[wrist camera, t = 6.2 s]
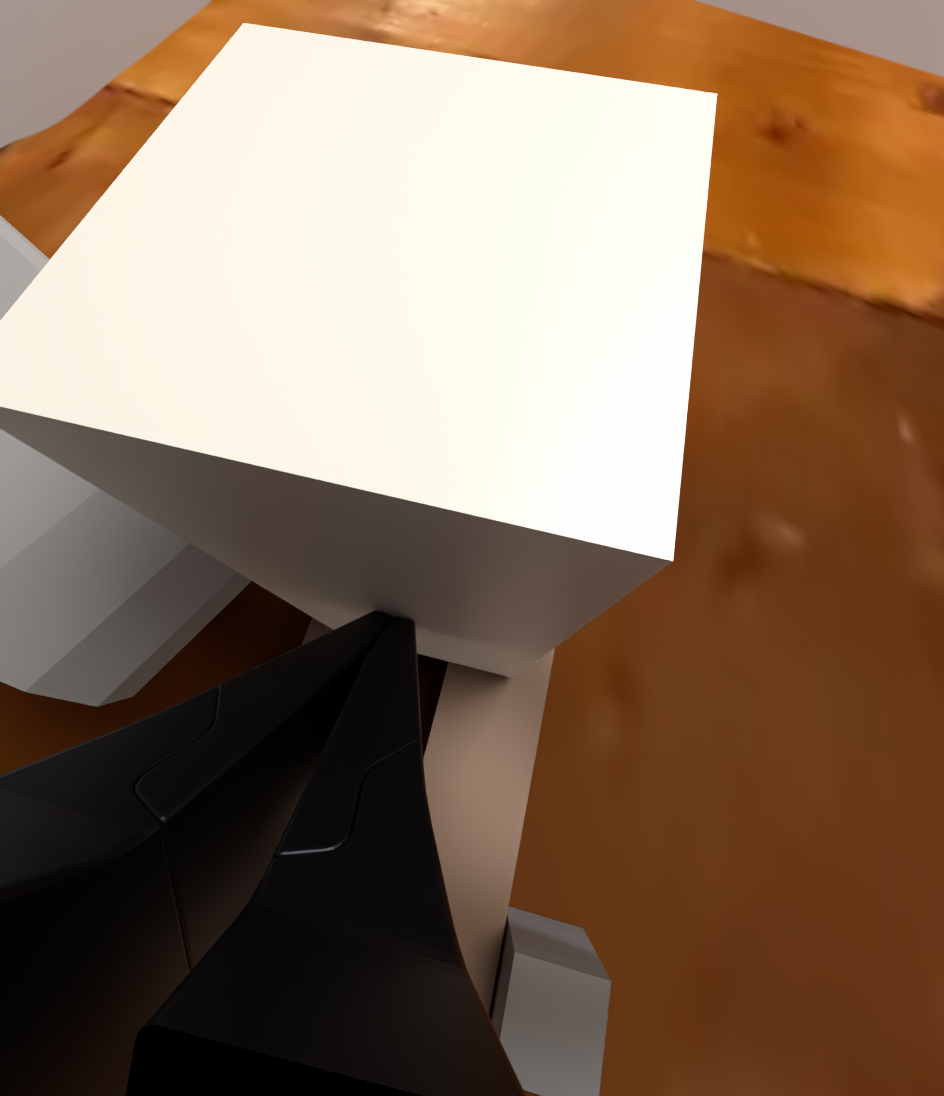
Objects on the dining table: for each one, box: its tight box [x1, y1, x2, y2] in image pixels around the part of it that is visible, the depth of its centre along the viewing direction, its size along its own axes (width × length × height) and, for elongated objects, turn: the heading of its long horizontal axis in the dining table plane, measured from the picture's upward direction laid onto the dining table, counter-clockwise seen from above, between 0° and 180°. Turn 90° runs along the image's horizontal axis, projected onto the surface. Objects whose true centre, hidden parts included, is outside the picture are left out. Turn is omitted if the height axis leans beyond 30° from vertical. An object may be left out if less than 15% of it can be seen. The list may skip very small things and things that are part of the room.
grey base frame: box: [302, 617, 611, 1096], centre depth 12 cm, size 26×13×3 cm, turn 166°
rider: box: [0, 23, 717, 678], centre depth 11 cm, size 6×6×13 cm
